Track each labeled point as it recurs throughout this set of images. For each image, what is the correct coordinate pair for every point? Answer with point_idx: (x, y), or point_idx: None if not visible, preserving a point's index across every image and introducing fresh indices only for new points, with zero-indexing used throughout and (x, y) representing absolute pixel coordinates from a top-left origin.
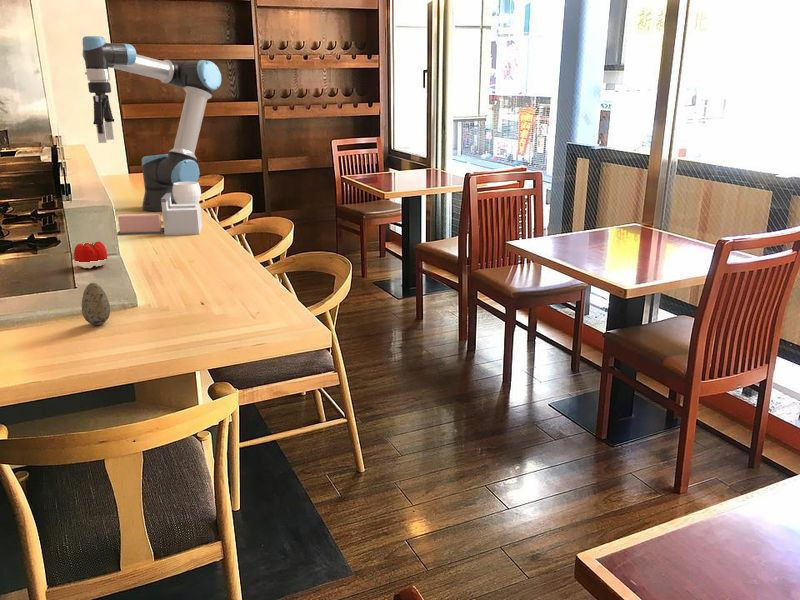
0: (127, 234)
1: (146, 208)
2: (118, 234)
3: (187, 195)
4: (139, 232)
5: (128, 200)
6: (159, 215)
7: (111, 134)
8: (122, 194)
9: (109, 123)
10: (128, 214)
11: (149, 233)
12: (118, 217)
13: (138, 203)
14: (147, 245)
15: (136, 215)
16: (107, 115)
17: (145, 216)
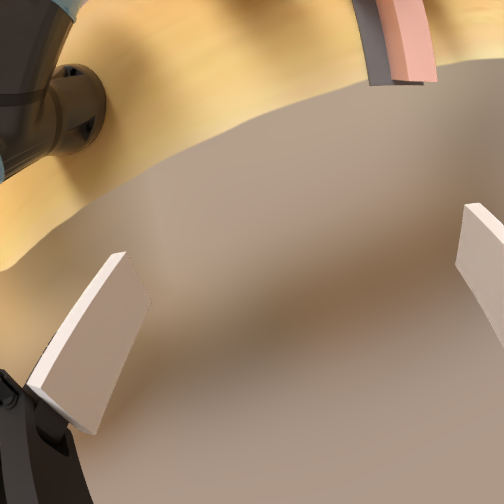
0: None
1: (98, 126)
2: (421, 82)
3: None
4: None
5: (26, 228)
6: None
7: (113, 296)
8: (2, 260)
9: (66, 392)
10: (409, 56)
11: None
12: (436, 80)
13: (38, 194)
14: (500, 17)
15: (423, 32)
16: (58, 492)
17: (423, 9)
